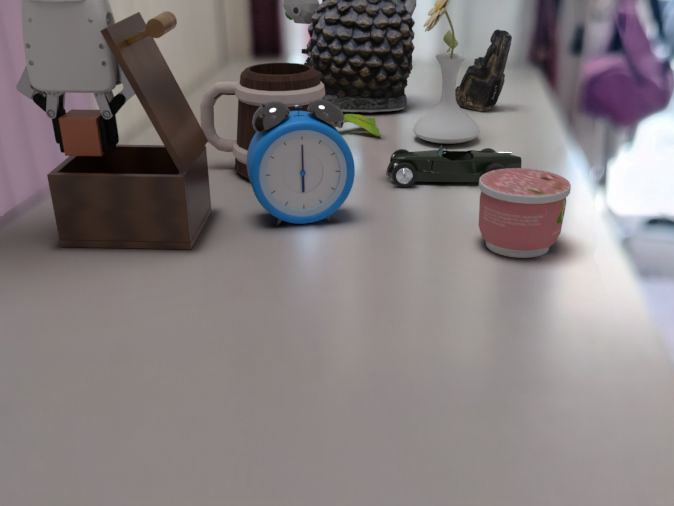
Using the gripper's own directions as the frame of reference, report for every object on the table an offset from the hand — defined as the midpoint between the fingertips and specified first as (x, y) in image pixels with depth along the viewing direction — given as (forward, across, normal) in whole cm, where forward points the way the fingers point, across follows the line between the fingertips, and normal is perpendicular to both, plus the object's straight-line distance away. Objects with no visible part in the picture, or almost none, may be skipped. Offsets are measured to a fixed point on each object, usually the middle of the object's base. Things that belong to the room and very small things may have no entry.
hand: (88, 148), depth 96 cm
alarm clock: (+10, -25, -5) cm, 27 cm away
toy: (+11, -25, -47) cm, 54 cm away
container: (+11, -52, +3) cm, 53 cm away
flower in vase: (+11, -46, -43) cm, 64 cm away
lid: (-7, -9, 0) cm, 11 cm away
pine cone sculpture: (+11, -31, -66) cm, 74 cm away
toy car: (+11, -46, -22) cm, 52 cm away
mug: (+10, -18, -25) cm, 32 cm away
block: (0, 0, 0) cm, 0 cm away
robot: (+11, -24, -94) cm, 98 cm away
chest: (+10, -5, 0) cm, 11 cm away
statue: (+11, -54, -67) cm, 87 cm away
